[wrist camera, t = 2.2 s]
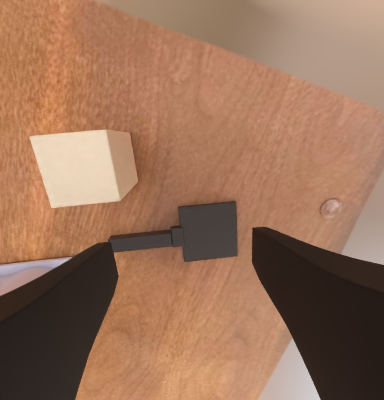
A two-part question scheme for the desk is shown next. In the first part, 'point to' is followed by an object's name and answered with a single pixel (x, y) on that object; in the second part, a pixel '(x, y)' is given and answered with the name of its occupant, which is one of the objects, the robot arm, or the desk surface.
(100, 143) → the cream block
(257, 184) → the desk surface
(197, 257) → the spatula
